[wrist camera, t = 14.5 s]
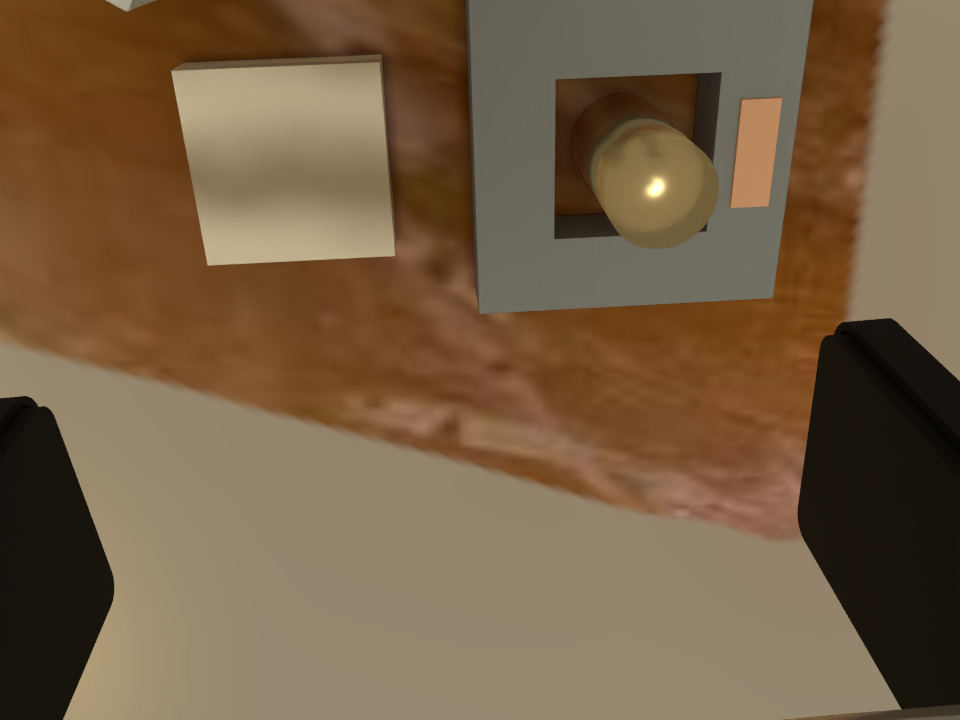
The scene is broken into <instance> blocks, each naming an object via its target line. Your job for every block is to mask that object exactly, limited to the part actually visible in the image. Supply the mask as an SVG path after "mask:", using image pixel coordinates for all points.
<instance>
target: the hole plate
mask: <svg viewBox="0 0 960 720" xmlns="http://www.w3.org/2000/svg"><path fill="white" fill-rule="evenodd" d="M812 7H813V0H465V9H466V37H467V65H468V93H469V121H470V149H471V177H472V205H473V233H474V261H475V288H476V294H477V301H478V308H479V314H485V313H504V312H522V311H541V310H559V309H578V308H596V307H615V306H633V305H652V304H670V303H689V302H707V301H726V300H744V299H763V298H773V291H774V284H775V277H776V269H777V262H778V255H779V247H780V240H781V233H782V226H783V218H784V211H785V204H786V197H787V189H788V182H789V175H790V167H791V160H792V153H793V146H794V138H795V131H796V124H797V116H798V109H799V102H800V95H801V87H802V80H803V73H804V66H805V58H806V51H807V44H808V36H809V29H810V22H811V15H812ZM691 73H699V76H698V88H697V100H696V112H695V124H694V136H693V143H694V144H695V145H696V146H697V147H698V148H699V149H701V150H702V151H703V152H704V153H705V154H706V155H707V156H708V158H709V159H710V160H711V162H712V164H713V165H714V168H715V170H716V173H717V177H718V184H719V192H718V199H717V203H716V206H715V209H714V211H713V213H712V215H711V217H710V219H709V220H708V222H707V223H706V224H705V226H704V227H703V228H702V229H701V230H700V231H699V232H698V233H697V234H696V235H694V236H693V237H692V238H690V239H689V240H687V241H685V242H683V243H681V244H679V245H676V246H674V247H670V248H664V249H648V248H643V247H639V246H637V245H634V244H632V243H631V242H629V241H627V240H626V239H625V238H623V237H622V236H621V235H620V234H619V233H618V232H617V230H616V229H615V227H614V226H613V224H612V223H611V221H610V219H609V218H608V216H607V214H590V215H569V216H554V206H555V103H556V79H575V78H598V77H621V76H645V75H668V74H691Z"/></svg>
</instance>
